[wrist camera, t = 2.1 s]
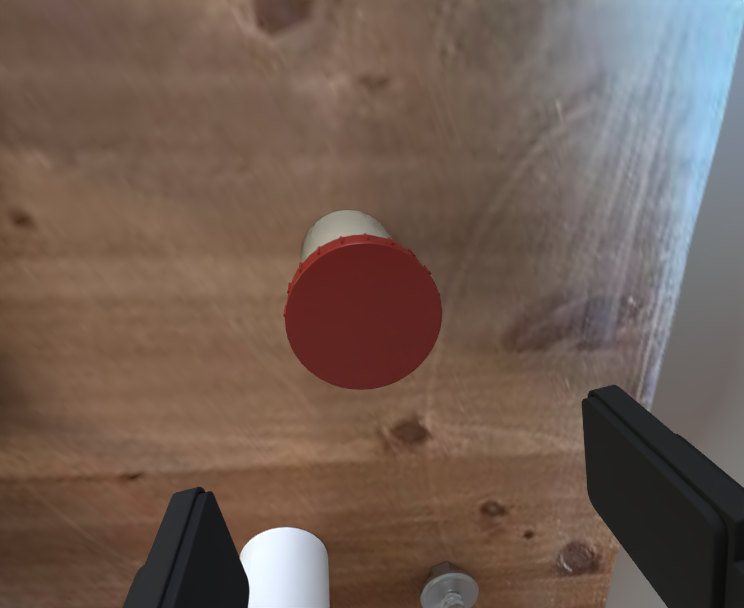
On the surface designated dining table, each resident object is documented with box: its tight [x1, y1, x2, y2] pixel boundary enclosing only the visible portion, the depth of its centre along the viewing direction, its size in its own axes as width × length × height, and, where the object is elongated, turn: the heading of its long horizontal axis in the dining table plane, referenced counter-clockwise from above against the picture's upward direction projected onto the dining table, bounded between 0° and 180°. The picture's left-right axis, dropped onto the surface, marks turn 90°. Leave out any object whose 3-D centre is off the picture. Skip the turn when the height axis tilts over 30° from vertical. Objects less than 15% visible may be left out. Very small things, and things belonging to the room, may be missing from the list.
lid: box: [284, 233, 442, 390], centre depth 22 cm, size 7×7×2 cm
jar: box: [300, 210, 395, 263], centre depth 26 cm, size 6×6×11 cm
